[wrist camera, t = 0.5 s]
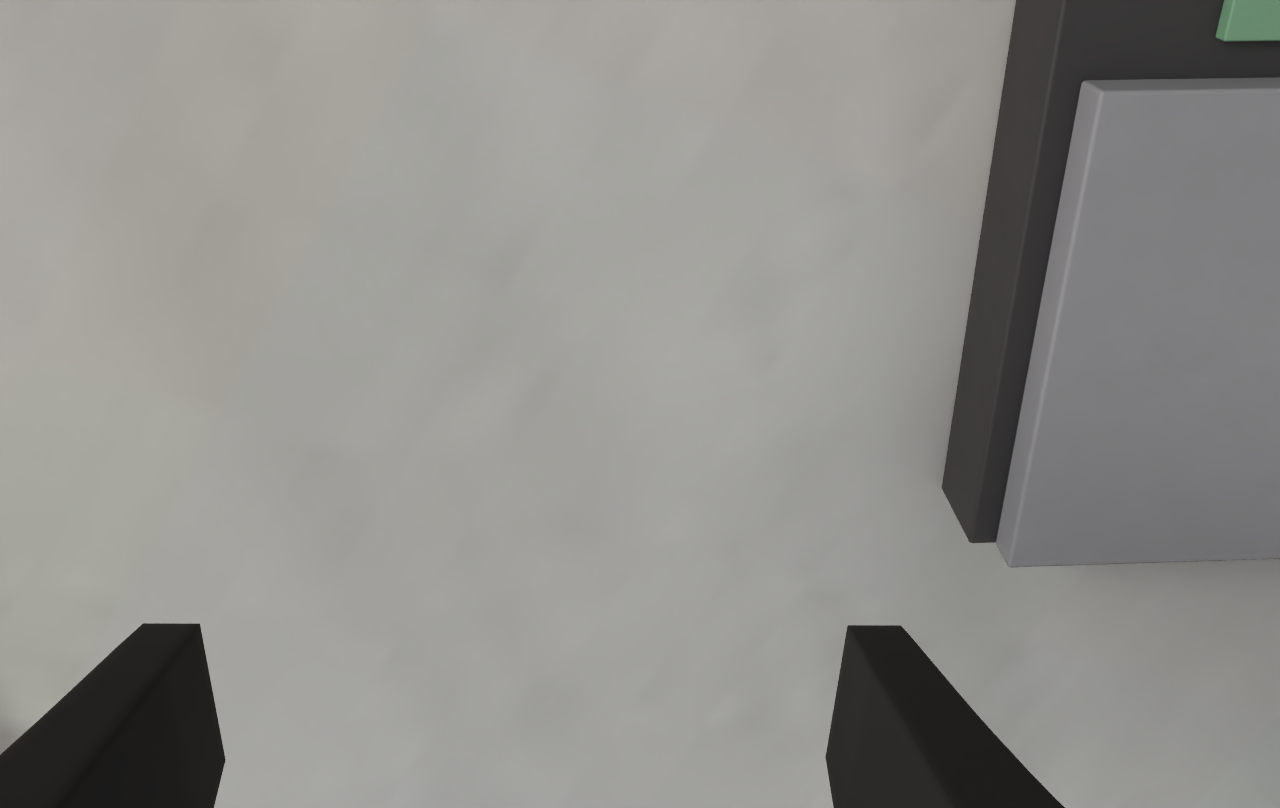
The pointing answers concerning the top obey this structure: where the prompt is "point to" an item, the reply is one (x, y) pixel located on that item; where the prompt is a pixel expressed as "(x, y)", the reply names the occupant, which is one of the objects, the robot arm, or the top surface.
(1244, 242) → the scale
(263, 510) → the top surface
